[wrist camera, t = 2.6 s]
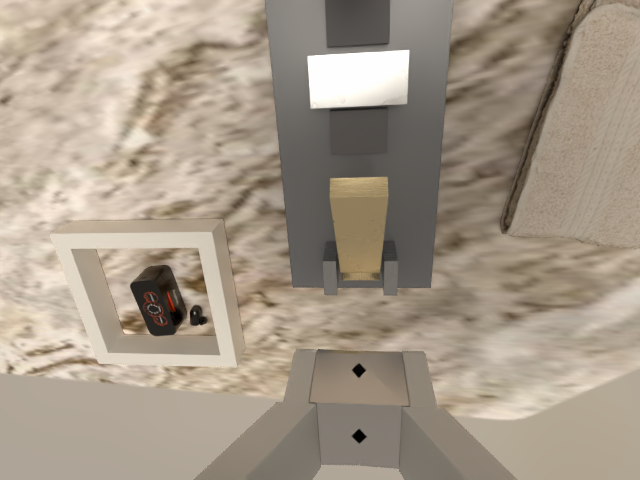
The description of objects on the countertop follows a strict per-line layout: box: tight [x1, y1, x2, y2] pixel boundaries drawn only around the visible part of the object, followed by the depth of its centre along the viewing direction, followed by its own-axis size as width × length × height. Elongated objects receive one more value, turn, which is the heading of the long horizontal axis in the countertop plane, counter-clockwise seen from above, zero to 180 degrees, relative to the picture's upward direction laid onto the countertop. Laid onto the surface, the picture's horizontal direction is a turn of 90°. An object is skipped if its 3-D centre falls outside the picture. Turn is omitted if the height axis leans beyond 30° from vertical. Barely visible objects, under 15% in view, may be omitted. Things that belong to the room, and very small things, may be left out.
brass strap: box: [330, 177, 388, 280], centre depth 26 cm, size 3×13×2 cm
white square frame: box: [50, 219, 245, 367], centre depth 38 cm, size 15×15×3 cm
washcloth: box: [501, 0, 640, 249], centre depth 29 cm, size 12×18×3 cm, turn 175°
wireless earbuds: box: [130, 266, 207, 336], centre depth 39 cm, size 5×7×3 cm, turn 10°
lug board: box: [265, 0, 453, 295], centre depth 27 cm, size 12×34×6 cm, turn 3°
